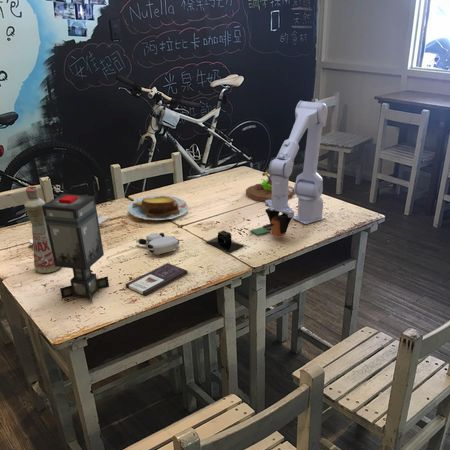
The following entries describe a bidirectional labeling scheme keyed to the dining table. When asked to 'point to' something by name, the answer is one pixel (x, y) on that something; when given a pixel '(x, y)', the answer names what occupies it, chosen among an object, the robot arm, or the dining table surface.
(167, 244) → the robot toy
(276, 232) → the pot
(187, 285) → the dining table surface
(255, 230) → the spatula
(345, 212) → the dining table surface
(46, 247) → the bottle
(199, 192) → the dining table surface
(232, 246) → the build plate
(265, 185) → the plant
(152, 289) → the chocolate bar
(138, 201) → the food on plate
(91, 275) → the explosive device
